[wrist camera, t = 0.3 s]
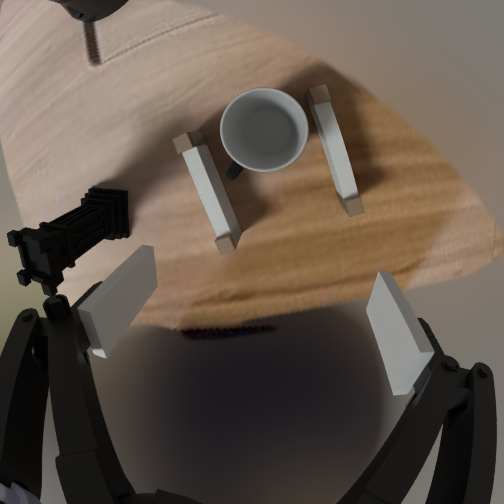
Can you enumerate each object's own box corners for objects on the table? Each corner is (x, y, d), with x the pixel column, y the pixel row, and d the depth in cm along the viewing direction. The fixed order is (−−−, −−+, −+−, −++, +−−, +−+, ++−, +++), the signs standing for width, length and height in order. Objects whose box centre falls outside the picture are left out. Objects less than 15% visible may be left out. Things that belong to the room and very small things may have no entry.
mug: (262, 86, 32) (254, 70, 23) (315, 125, 33) (327, 123, 24) (210, 153, 36) (186, 162, 27) (261, 191, 38) (254, 211, 29)
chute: (189, 137, 36) (172, 139, 30) (318, 91, 31) (325, 83, 25) (229, 236, 41) (220, 254, 36) (352, 199, 37) (364, 212, 31)
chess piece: (129, 236, 44) (55, 300, 26) (94, 230, 44) (18, 285, 26) (127, 190, 40) (39, 238, 22) (91, 188, 40) (4, 230, 22)
